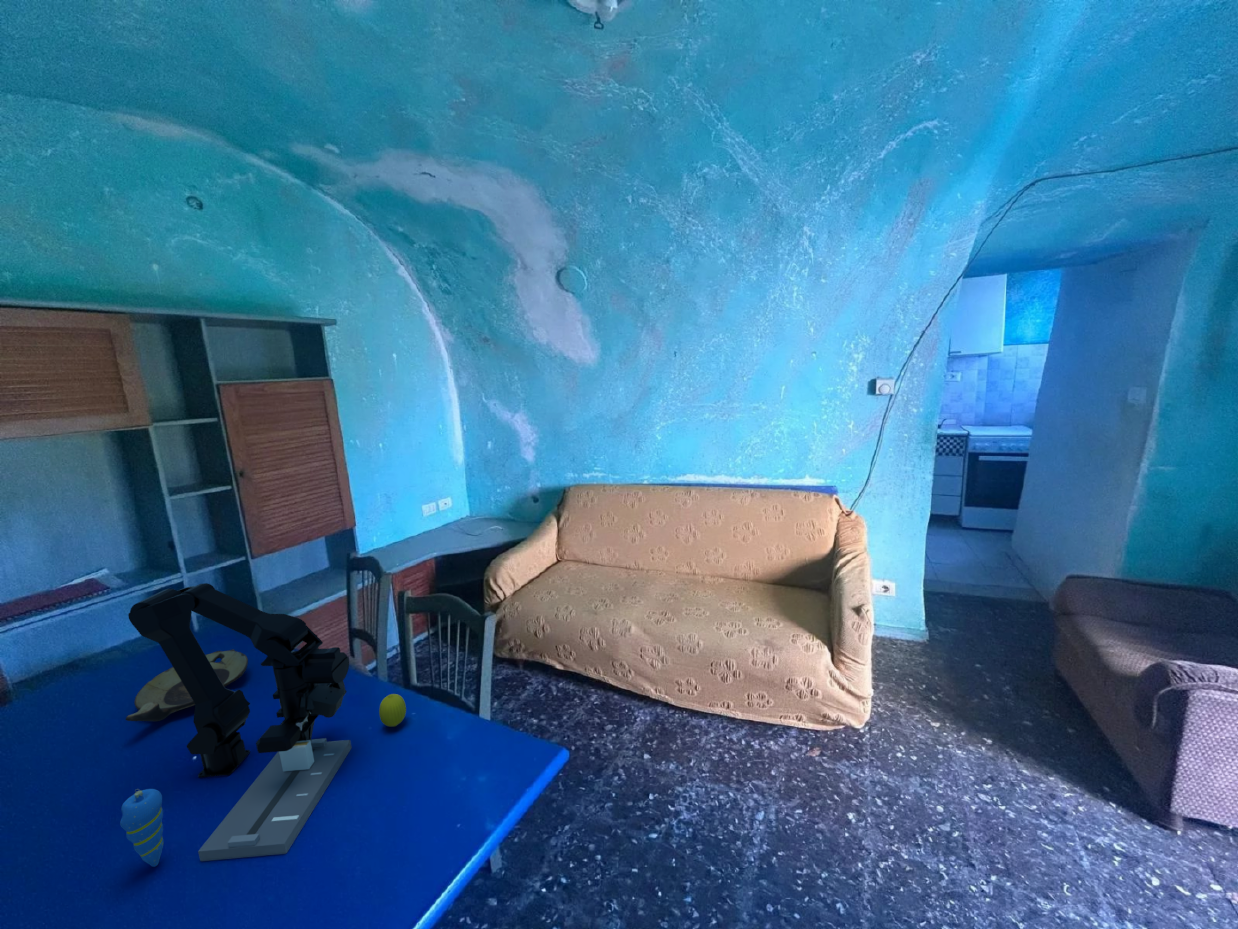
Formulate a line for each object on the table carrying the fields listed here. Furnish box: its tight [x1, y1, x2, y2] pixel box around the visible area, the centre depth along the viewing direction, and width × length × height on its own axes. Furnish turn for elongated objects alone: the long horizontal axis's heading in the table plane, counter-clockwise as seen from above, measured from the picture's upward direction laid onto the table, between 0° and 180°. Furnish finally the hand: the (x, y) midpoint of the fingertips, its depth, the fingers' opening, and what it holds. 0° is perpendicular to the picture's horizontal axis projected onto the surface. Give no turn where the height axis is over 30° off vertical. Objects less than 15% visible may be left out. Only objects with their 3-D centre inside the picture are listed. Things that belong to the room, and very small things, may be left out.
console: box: [197, 737, 352, 862], centre depth 96 cm, size 14×24×3 cm, turn 3°
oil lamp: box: [124, 648, 249, 722], centre depth 127 cm, size 22×30×8 cm
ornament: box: [119, 788, 165, 868], centre depth 83 cm, size 5×5×15 cm
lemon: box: [378, 693, 407, 728], centre depth 114 cm, size 6×6×8 cm
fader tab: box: [279, 740, 314, 771], centre depth 101 cm, size 5×2×5 cm, turn 94°
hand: (306, 749), depth 104 cm, fingers closed
